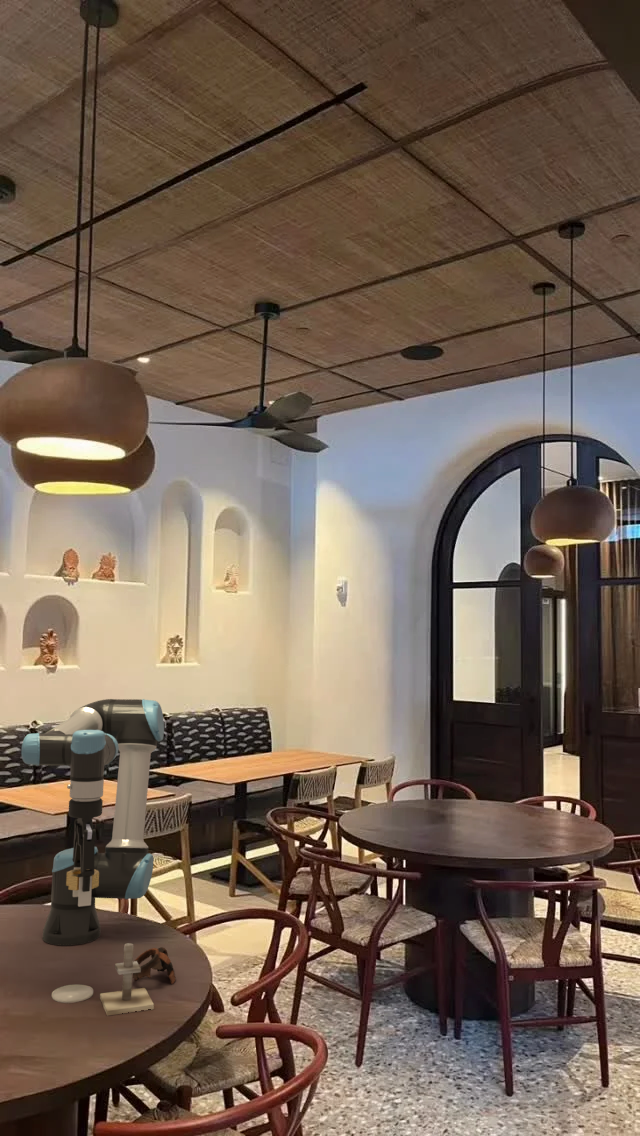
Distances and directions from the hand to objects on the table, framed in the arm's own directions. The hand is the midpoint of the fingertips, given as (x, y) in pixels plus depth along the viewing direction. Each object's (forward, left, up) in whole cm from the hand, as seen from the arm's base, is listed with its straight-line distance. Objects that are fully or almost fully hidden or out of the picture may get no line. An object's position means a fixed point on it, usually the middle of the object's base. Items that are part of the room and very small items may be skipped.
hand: (81, 900), depth 196 cm
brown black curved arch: (-3, +18, -21) cm, 28 cm away
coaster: (0, -1, -21) cm, 21 cm away
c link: (0, 0, +3) cm, 3 cm away
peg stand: (+9, +9, -21) cm, 24 cm away
